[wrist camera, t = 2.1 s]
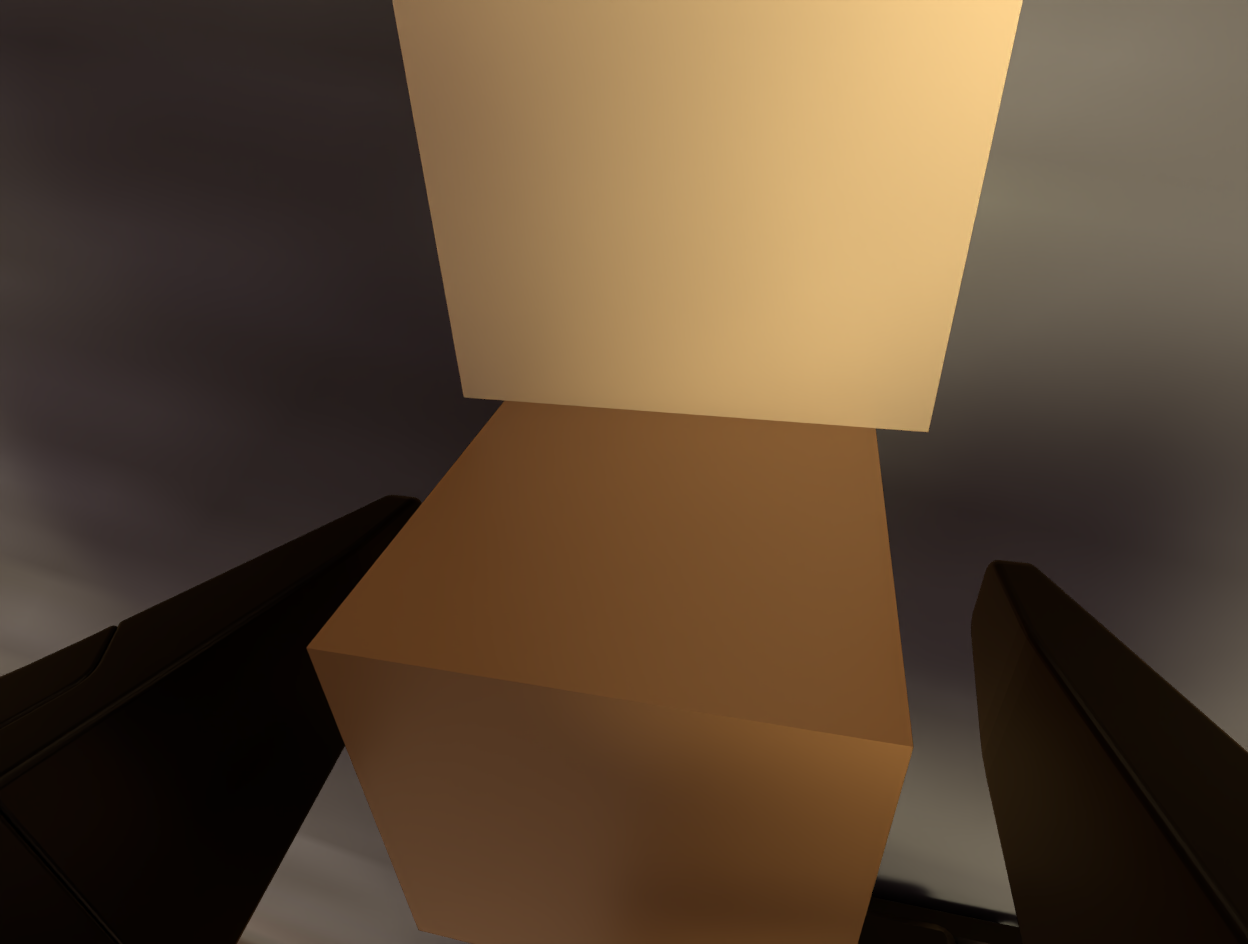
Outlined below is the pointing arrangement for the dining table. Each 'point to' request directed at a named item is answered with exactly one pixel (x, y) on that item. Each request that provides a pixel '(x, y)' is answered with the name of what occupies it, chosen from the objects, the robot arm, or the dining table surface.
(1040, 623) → the robot arm
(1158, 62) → the dining table surface
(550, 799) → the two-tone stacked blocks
